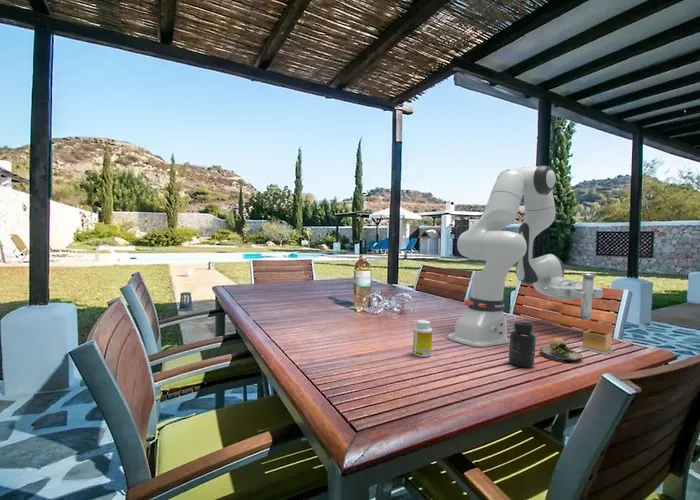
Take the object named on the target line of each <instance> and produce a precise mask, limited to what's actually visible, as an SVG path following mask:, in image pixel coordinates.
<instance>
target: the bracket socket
mask: <svg viewBox="0 0 700 500" xmlns="http://www.w3.org/2000/svg"><path fill="white" fill-rule="evenodd" d="M612 343H613V333H610V332H604V331H599V330H593V329H588V330H585V331H583V334H582V344H581V345H579V346H578V347H579V349H581V350H585V349H586V350H585V351H589V350H590V351H591V352H594V353H598V354H603V355H609V354H610V353H612V352H614V351H615V348H613V347H612ZM613 350H614V351H613Z"/></svg>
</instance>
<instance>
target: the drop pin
mask: <svg viewBox="0 0 700 500" xmlns="http://www.w3.org/2000/svg"><path fill="white" fill-rule="evenodd" d="M580 275H581V276H582V282H583V284H582V292H584V293H585V296H584V297H581V298H580V313H579V319H581V320H586V321H591V319H592V307H593V298H592V296H593V286H594V282H595V281H594V280H595V278H596V277H597V274H594V273H583V272H582V273H580Z"/></svg>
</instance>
